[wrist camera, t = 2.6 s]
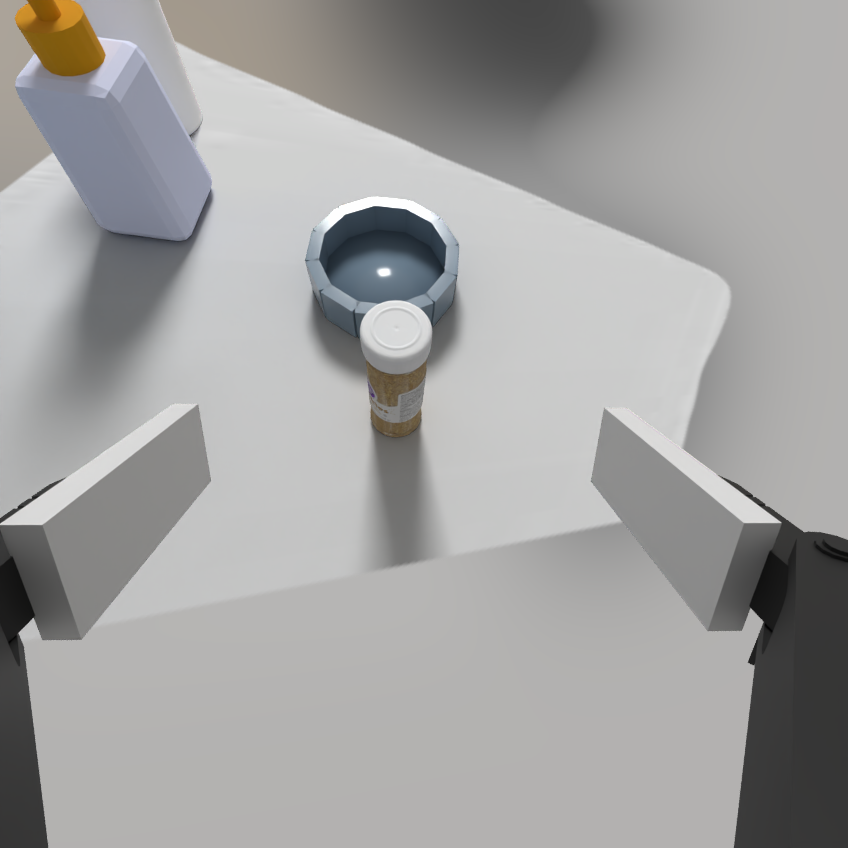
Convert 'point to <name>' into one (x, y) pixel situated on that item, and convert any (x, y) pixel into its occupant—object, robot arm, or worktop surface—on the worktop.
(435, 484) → the worktop surface
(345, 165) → the worktop surface
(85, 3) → the cup
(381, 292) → the bowl
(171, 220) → the soap bottle
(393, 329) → the sprinkles bottle
